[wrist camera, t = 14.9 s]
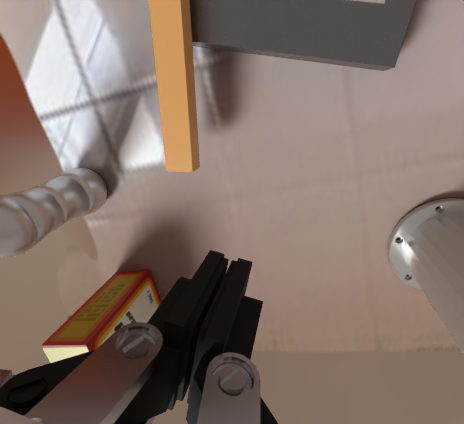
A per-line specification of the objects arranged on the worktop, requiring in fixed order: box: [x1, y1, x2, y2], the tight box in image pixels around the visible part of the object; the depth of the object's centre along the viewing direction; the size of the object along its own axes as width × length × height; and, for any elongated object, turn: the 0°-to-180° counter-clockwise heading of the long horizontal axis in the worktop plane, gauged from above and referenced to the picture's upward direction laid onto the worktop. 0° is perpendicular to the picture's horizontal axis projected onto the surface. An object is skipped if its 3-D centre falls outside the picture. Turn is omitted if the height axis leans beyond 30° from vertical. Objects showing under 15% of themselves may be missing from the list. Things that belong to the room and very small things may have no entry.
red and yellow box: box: [41, 270, 162, 363], centre depth 42 cm, size 10×6×16 cm
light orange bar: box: [149, 0, 200, 172], centre depth 28 cm, size 22×3×2 cm, turn 1°
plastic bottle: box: [0, 168, 107, 258], centre depth 34 cm, size 6×7×20 cm
